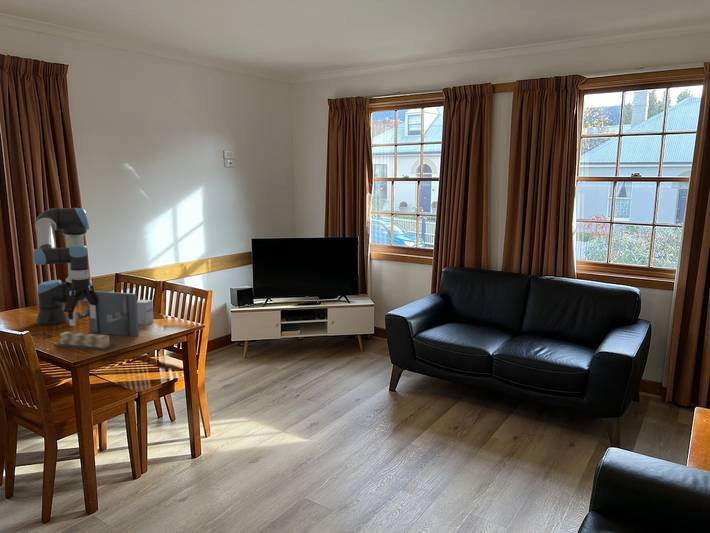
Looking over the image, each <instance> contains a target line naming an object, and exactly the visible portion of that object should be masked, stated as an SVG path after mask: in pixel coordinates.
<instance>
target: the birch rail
mask: <svg viewBox="0 0 710 533" xmlns="http://www.w3.org/2000/svg"><path fill="white" fill-rule="evenodd" d="M59 340H60V342H61V344H68V345H78V346H89V347H99V348H105V347H107V346H109V345H110V344H111V343H110V334H100V333H99V334H94V333H85V332H75V331H64V332H62V333H61V332H60V333H59ZM60 342H59V343H60Z"/></svg>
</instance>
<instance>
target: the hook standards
mask: <svg viewBox="0 0 710 533" xmlns="http://www.w3.org/2000/svg"><path fill="white" fill-rule="evenodd" d="M96 295H97V294H96ZM123 313H124V314H121V315H120V312H115V317H113V318H112V315H107V322H113V321H115V320H118V319H121V318H123V317H124V331H125V335H124V337H126V338H127V337H131V336H130V324H129V307H128V296H123ZM89 316H90V312H89V310H88V309H84V310H83V313H82V314H81V312H75V320H82V319H85V318H89ZM93 320H94V333H93V334H99V335H100V334H101V333H100V329H99V314H98V305H96V318H93Z"/></svg>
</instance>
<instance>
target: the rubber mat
mask: <svg viewBox="0 0 710 533" xmlns="http://www.w3.org/2000/svg"><path fill="white" fill-rule="evenodd" d="M109 344H110V345H109V346H107V347H105V348H99V347H89V346H78V345H68V344H61V342H57V343H55V344H53V346H54V347H61V348H73V349H83V350H94V351H103V352H105V351H108V350H110V349H112V348H115V347H116V346H117V344H113V343H109Z"/></svg>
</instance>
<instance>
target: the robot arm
mask: <svg viewBox="0 0 710 533" xmlns="http://www.w3.org/2000/svg"><path fill="white" fill-rule="evenodd" d="M87 215H88V214H87V212H86V210H85V209H84V208H80V207H79V208H78V207H64V208H63V207H62V208H61V207H59V208H57V207H53V208H49V209H46V210H44V211H43V212H41V213H40V214H39V215H38V216H37V217H36V219H35V221H34V228H35V230H36V231H37V248H35V249H33V250H32V252H33V253H32V254H33V263H34V264H35V265H36V266H37V265H38V266H39V265H42V266H45V265H57V264H58V265H60V264H67V272H68V273H67V274H68V276H67V277H66V278H65V282H64V281H63V282H62V280H61V279H53V280H48V281H43V282H40V283H39V284H37V291H36V293H37V299H38V300H37V302H38V313H37V318H36V325H37V324H38V325H37V326H40V325H43V326H42V327H47V326H46V325H52V326H57V325H62V324H66V323H68V321H69V326H70V327H71V326H72V327H75V326H77V324H76V320H77V319H75V313H76V312H75V310H76V307H77V305H78V303H81V302H88V301H89V302H90V304H92V305H90V318H96V305H98V302H99V300H98V297H97V295H96V293H95V291H96V290H95V288H94V285H93V282H92V280H90V278H89V277H90V272H89V271H90V270H89V268H90V267H89V251H88V246H86V245H85V239H84V237H85V235H86V234H87V231H88V230H90V225H89V220H88V216H87ZM55 231H61V232H62V233H61V234H62V235H63V236H65V243H66V247H57V244H56V232H55ZM64 304H65V305H64ZM66 313H67V315H66ZM65 322H66V323H65Z"/></svg>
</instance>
